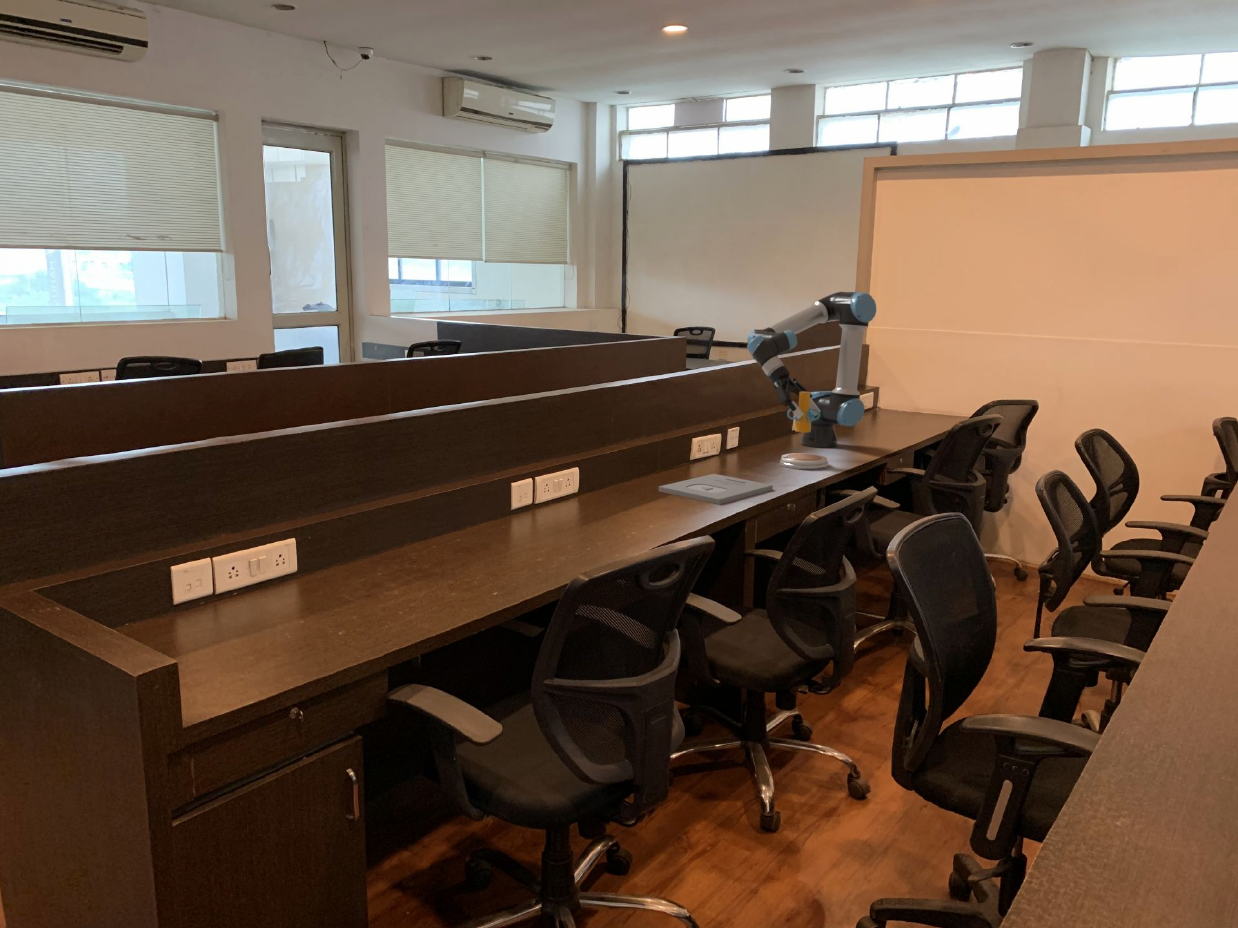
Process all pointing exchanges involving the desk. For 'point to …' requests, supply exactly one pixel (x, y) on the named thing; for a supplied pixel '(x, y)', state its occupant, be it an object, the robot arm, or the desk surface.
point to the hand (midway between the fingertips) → (809, 415)
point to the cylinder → (804, 422)
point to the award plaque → (715, 488)
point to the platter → (804, 459)
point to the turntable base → (803, 466)
